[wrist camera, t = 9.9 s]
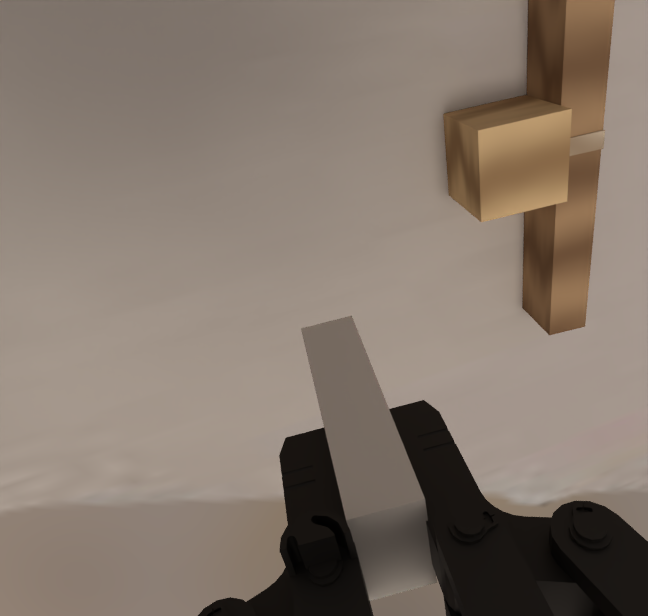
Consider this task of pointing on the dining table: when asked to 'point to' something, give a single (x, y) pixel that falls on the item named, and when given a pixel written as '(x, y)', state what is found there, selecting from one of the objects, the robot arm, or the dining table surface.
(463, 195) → the block
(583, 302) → the board
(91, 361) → the dining table surface
